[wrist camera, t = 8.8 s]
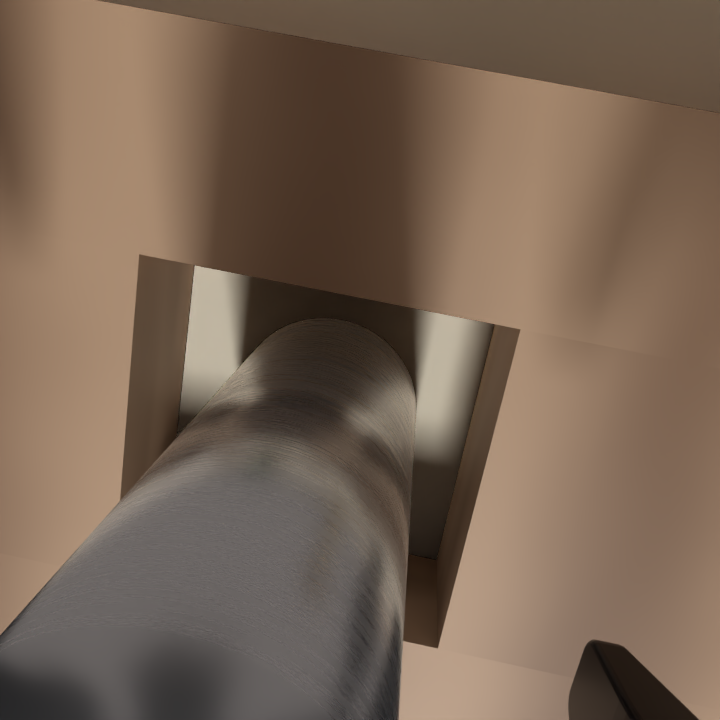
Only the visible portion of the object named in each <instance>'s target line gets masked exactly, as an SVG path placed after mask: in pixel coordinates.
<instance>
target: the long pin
mask: <svg viewBox="0 0 720 720" xmlns="http://www.w3.org/2000/svg"><path fill="white" fill-rule="evenodd" d="M415 421H416V397H415V390H414V386H413V383H412V379H411V377H410V374H409V372H408V370H407V368H406V366H405V364H404V363H403V361H402V359H401V358H400V357H399V355H398V354H397V353H396V352H395V350H394V349H393V348H392V347H391V346H390V345H389V344H388V343H387V342H386V341H385V340H383V339H382V338H381V337H379V336H378V335H377V334H375V333H373V332H372V331H370V330H368V329H366V328H365V327H362V326H360V325H357V324H355V323H352V322H348V321H344V320H340V319H333V318H313V319H305V320H302V321H298V322H294V323H292V324H289V325H287V326H284V327H282V328H280V329H279V330H277V331H275V332H274V333H272V334H271V335H270V336H268V337H267V338H266V339H265V340H264V341H263V342H262V343H261V344H260V345H259V346H258V347H257V348H256V349H255V350H254V351H253V352H252V353H251V355H250V356H249V357H248V358H247V359H246V360H245V361H244V362H243V364H242V365H241V366H240V367H239V368H238V369H237V370H236V371H235V373H234V374H233V375H232V376H231V377H230V378H229V379H228V380H227V381H226V383H225V384H224V385H223V386H222V387H221V388H220V389H219V390H218V392H217V393H216V394H215V395H214V396H213V397H212V398H211V399H210V401H209V402H208V403H207V404H206V405H205V406H204V407H203V408H202V410H201V411H200V412H199V413H198V414H197V415H196V416H195V417H194V418H193V420H192V421H191V422H190V423H189V424H188V425H187V426H186V427H185V429H184V430H183V431H182V432H181V433H180V434H179V435H178V436H177V438H176V439H175V440H174V441H173V442H172V443H171V444H170V445H169V447H168V448H167V449H166V450H165V451H164V452H163V453H162V454H161V455H160V457H159V458H158V459H157V460H156V461H155V462H154V463H153V464H152V466H151V467H150V468H149V469H148V470H147V471H146V472H145V473H144V475H143V476H142V477H141V478H140V479H139V480H138V481H137V482H136V483H135V485H134V486H133V487H132V488H131V489H130V490H129V491H128V492H127V494H126V495H125V496H124V497H123V498H122V499H121V500H120V501H119V503H118V504H117V505H116V506H115V507H114V508H113V509H112V510H111V512H110V513H109V514H108V515H107V516H106V517H105V518H104V519H103V520H102V522H101V523H100V524H99V525H98V526H97V527H96V528H95V529H94V531H93V532H92V533H91V534H90V535H89V536H88V537H87V538H86V540H85V541H84V542H83V543H82V544H81V545H80V546H79V547H78V549H77V550H76V551H75V552H74V553H73V554H72V555H71V556H70V557H69V559H68V560H67V561H66V562H65V563H64V564H63V565H62V566H61V568H60V569H59V570H58V571H57V572H56V573H55V574H54V575H53V577H52V578H51V579H50V580H49V581H48V582H47V583H46V584H45V586H44V587H43V588H42V589H41V590H40V591H39V592H38V593H37V594H36V596H35V597H34V598H33V599H32V600H31V601H30V602H29V603H28V605H27V606H26V607H25V608H24V609H23V610H22V611H21V612H20V614H19V615H18V616H17V617H16V618H15V619H14V620H13V621H12V623H11V624H10V625H9V626H8V627H7V628H6V629H5V630H4V631H3V633H2V634H1V635H0V720H399V708H400V690H401V672H402V654H403V636H404V618H405V600H406V582H407V565H408V547H409V529H410V511H411V493H412V475H413V457H414V439H415Z"/></svg>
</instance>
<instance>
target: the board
mask: <svg viewBox="0 0 720 720" xmlns="http://www.w3.org/2000/svg"><path fill="white" fill-rule="evenodd" d="M194 265H196V266H201V267H206V268H211V269H217V270H222V271H227V272H232V273H237V274H242V275H247V276H252V277H257V278H262V279H267V280H272V281H277V282H283V283H288V284H293V285H298V286H303V287H308V288H313V289H318V290H323V291H328V292H333V293H338V294H344V295H349V296H354V297H359V298H364V299H369V300H374V301H379V302H384V303H389V304H394V305H399V306H405V307H410V308H415V309H420V310H425V311H430V312H435V313H440V314H445V315H450V316H455V317H460V318H465V319H471V320H476V321H481V322H486V323H491V324H495V326H494V330H493V334H492V338H491V342H490V346H489V350H488V354H487V358H486V362H485V366H484V370H483V374H482V378H481V382H480V386H479V390H478V395H477V399H476V403H475V407H474V411H473V415H472V419H471V423H470V427H469V431H468V435H467V439H466V443H465V447H464V451H463V455H462V459H461V463H460V467H459V472H458V476H457V480H456V484H455V488H454V492H453V496H452V500H451V504H450V508H449V512H448V516H447V520H446V524H445V528H444V532H443V536H442V540H441V544H440V549H439V553H438V557H437V560H433V559H428V558H424V557H419V556H414V555H409V554H408V565H407V582H406V600H405V618H404V636H403V654H402V672H401V690H400V708H399V720H569V714H568V699H569V693H570V689H571V685H572V682H573V680H574V677H575V674H576V671H577V668H578V665H579V662H580V659H581V656H582V653H583V650H584V648H585V646H586V644H587V643H588V642H589V641H590V640H593V639H596V640H601V641H605V642H610V643H615V644H619V645H622V646H624V647H625V648H626V649H627V650H628V651H629V652H630V653H631V654H632V655H633V656H634V657H635V658H636V659H638V660H639V661H640V662H641V663H642V664H643V665H644V666H645V667H646V668H647V669H648V670H649V671H650V672H651V673H652V674H653V675H654V676H655V677H656V678H657V679H658V680H659V681H660V682H661V683H662V684H663V685H664V686H665V687H666V688H667V689H668V690H669V691H670V692H671V693H673V694H674V695H675V696H676V697H677V698H678V699H679V700H680V701H681V702H682V703H683V704H684V705H685V706H686V707H687V708H688V709H689V710H690V711H691V712H692V713H693V714H694V715H695V716H696V717H697V718H698V719H699V720H720V113H717V112H711V111H706V110H700V109H695V108H689V107H684V106H678V105H673V104H667V103H662V102H656V101H650V100H645V99H639V98H634V97H628V96H623V95H617V94H612V93H606V92H601V91H595V90H590V89H584V88H579V87H573V86H568V85H562V84H557V83H551V82H546V81H540V80H534V79H529V78H523V77H518V76H512V75H507V74H501V73H496V72H490V71H485V70H479V69H474V68H468V67H463V66H457V65H452V64H446V63H441V62H435V61H429V60H424V59H418V58H413V57H407V56H402V55H396V54H391V53H385V52H380V51H374V50H369V49H363V48H358V47H352V46H347V45H341V44H336V43H330V42H325V41H319V40H313V39H308V38H302V37H297V36H291V35H286V34H280V33H275V32H269V31H264V30H258V29H253V28H247V27H242V26H236V25H231V24H225V23H220V22H214V21H209V20H203V19H197V18H192V17H186V16H181V15H175V14H170V13H164V12H159V11H153V10H148V9H142V8H137V7H131V6H126V5H120V4H115V3H109V2H104V1H98V0H0V635H1V634H2V633H3V631H4V630H5V629H6V628H7V627H8V626H9V625H10V624H11V623H12V621H13V620H14V619H15V618H16V617H17V616H18V615H19V614H20V612H21V611H22V610H23V609H24V608H25V607H26V606H27V605H28V603H29V602H30V601H31V600H32V599H33V598H34V597H35V596H36V594H37V593H38V592H39V591H40V590H41V589H42V588H43V587H44V586H45V584H46V583H47V582H48V581H49V580H50V579H51V578H52V577H53V575H54V574H55V573H56V572H57V571H58V570H59V569H60V568H61V566H62V565H63V564H64V563H65V562H66V561H67V560H68V559H69V557H70V556H71V555H72V554H73V553H74V552H75V551H76V550H77V549H78V547H79V546H80V545H81V544H82V543H83V542H84V541H85V540H86V538H87V537H88V536H89V535H90V534H91V533H92V532H93V531H94V529H95V528H96V527H97V526H98V525H99V524H100V523H101V522H102V520H103V519H104V518H105V517H106V516H107V515H108V514H109V513H110V512H111V510H112V509H113V508H114V507H115V506H116V505H117V504H118V503H119V501H120V500H121V499H122V498H123V497H124V496H125V495H126V494H127V492H128V491H129V490H130V489H131V488H132V487H133V486H134V485H135V483H136V482H137V481H138V480H139V479H140V478H141V477H142V476H143V475H144V473H145V472H146V471H147V470H148V469H149V468H150V467H151V466H152V464H153V463H154V462H155V461H156V460H157V459H158V458H159V457H160V455H161V454H162V453H163V452H164V451H165V450H166V449H167V448H168V447H169V445H170V444H171V443H172V442H173V441H174V440H175V439H176V436H177V426H178V416H179V407H180V397H181V387H182V378H183V368H184V358H185V349H186V339H187V329H188V320H189V310H190V300H191V290H192V281H193V271H194Z"/></svg>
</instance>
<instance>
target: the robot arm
mask: <svg viewBox="0 0 720 720" xmlns="http://www.w3.org/2000/svg"><path fill="white" fill-rule="evenodd" d="M568 714H569V720H699V719H698V718H697V717H696V716H695V715H694V714H693V713H692V712H691V711H690V710H689V709H688V708H687V707H686V706H685V705H684V704H683V703H682V702H681V701H680V700H679V699H678V698H677V697H676V696H675V695H674V694H673V693H671V692H670V691H669V690H668V689H667V688H666V687H665V686H664V685H663V684H662V683H661V682H660V681H659V680H658V679H657V678H656V677H655V676H654V675H653V674H652V673H651V672H650V671H649V670H648V669H647V668H646V667H645V666H644V665H643V664H642V663H641V662H640V661H639V660H638V659H636V658H635V657H634V656H633V655H632V654H631V653H630V652H629V651H628V650H627V649H626V648H625V647H624V646H622V645H619V644H615V643H610V642H605V641H601V640H596V639H593V640H590V641H589V642H588V643H587V644H586V646H585V648H584V650H583V653H582V656H581V659H580V662H579V665H578V668H577V671H576V674H575V677H574V680H573V682H572V685H571V689H570V693H569V699H568Z"/></svg>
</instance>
